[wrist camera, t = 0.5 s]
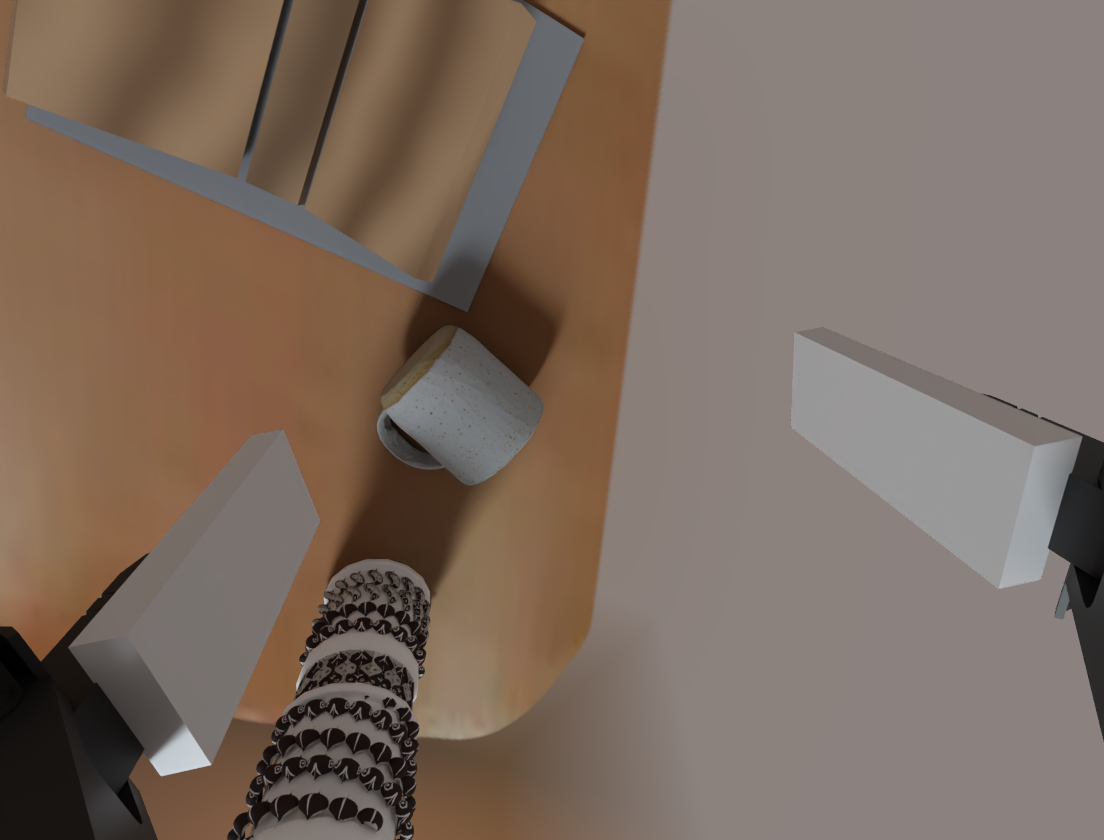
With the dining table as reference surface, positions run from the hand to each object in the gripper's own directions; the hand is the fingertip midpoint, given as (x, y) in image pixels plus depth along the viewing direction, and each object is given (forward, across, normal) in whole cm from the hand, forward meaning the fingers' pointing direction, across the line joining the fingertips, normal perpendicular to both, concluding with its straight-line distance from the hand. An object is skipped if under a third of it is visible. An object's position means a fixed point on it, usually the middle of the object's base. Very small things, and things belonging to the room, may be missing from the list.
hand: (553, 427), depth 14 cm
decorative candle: (+24, -15, -24) cm, 37 cm away
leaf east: (+20, -3, +9) cm, 22 cm away
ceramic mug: (+24, -5, -8) cm, 26 cm away
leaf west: (+20, -13, +16) cm, 29 cm away
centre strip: (+24, -8, +12) cm, 28 cm away
